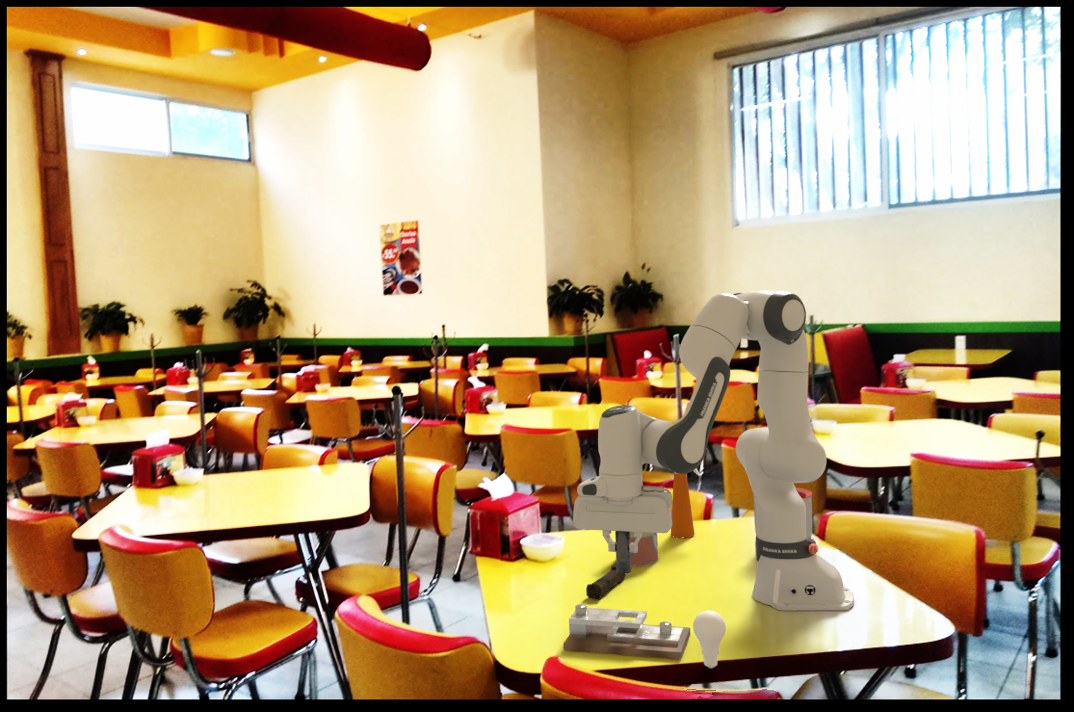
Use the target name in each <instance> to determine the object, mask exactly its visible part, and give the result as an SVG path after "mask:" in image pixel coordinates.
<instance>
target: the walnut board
mask: <svg viewBox="0 0 1074 712" xmlns="http://www.w3.org/2000/svg"><path fill="white" fill-rule="evenodd" d="M643 625H648V626H660V624H659V625H658V624H657V625H656V624H645V623H643ZM672 627H675V625H672ZM676 627H677V628H683V635H682V637H681V640H680V643H679V645H678V646H672V645H659V644H646V643H633V642H620V641H607V635H608V633H609V632H610V630H611V628H612V627H611V626H597V625H594V627H593V629H592V631H591V632H590V634H589V635H588V637H587V638H586V639H581V638H570V633H569V634H568V636H567V637H566V639H565V640H564V642H563V651H566V652H567V651H569V652H580V653H581V652H582V653H583V652H584V653H595V654H604V655H605V654H606V655H618V656H629V657H642V658H655V659H665V658H666V659H667V660H668V659H669V660H678V661H682V659H683V656H684V653H685V650H686V648H687V645H688V642H689V639H690V637H691V627H689V626H688V627H687V626H676ZM636 633H637V632H631V631H619V633H618V634H627V635H636Z"/></svg>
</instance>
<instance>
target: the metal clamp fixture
mask: <svg viewBox="0 0 1074 712" xmlns="http://www.w3.org/2000/svg"><path fill="white" fill-rule="evenodd" d="M647 616H648V614H647V611H645V610H644V611H643V610H630V609H614V608H599V607H598V608H596V607H588V606H587V605H586V604H583V603H579V604H576V605H575V609H574V611H573V612H572V614H571V615H570V616H569V618H568V627H569V628H568V630H569V631H568V632H569V634H570V638H581V639H586V638H587V637H588V635H589V634H590V632H591V631H592V629H593V627H594V625H597V626H611V627H612V628H611V630H610V632H609V633H608V635H607V641H620V642H633V643H646V644H659V645H672V646H678V645H679V643H680V640H681V637H682V635H683V628H677V627H678V626H674V627H672V626H673V625H672V622H671V621H661V622H659V625H660V626H648V625H649V624H646V625H643V624H645V620H646V619H647ZM620 618H630V620H627V619H620ZM631 618H632V619H634V620H631ZM619 631H631V632H637V633H636V635H627V634H618V633H619Z"/></svg>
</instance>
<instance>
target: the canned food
mask: <svg viewBox="0 0 1074 712" xmlns="http://www.w3.org/2000/svg"><path fill="white" fill-rule="evenodd" d="M636 538H637V537H634V532H630V543H631V542H633V543H634V542H635V540H636ZM658 545H659V544H658V533H650V532H643V535H642V537H641V539H640V541H639V542H638V552H637V553H631V567H646V566H645V565H647V566H652V565H654V563H655V564H656V562H657V561H658V560H659V559H660V558H659V546H658ZM658 562H659V561H658ZM658 562H657V563H658ZM651 564H652V565H651Z"/></svg>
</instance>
